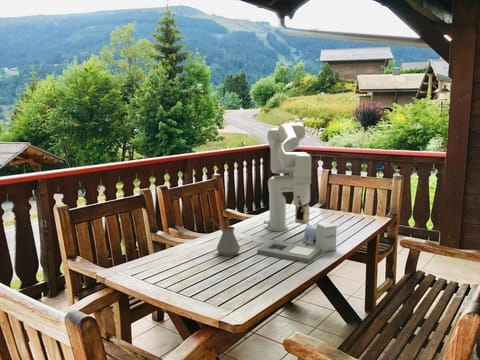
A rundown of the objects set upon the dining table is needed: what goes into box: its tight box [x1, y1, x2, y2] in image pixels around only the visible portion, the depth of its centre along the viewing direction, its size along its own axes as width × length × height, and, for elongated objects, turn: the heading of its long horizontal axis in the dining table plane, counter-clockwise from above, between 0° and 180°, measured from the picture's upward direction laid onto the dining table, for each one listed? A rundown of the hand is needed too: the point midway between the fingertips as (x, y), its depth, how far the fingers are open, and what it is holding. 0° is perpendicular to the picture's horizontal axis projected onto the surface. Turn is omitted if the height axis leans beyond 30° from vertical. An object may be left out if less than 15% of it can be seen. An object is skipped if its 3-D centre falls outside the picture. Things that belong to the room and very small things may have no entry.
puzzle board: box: [256, 240, 322, 264], centre depth 203 cm, size 27×16×2 cm, turn 60°
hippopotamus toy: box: [301, 222, 317, 245], centre depth 220 cm, size 11×15×10 cm
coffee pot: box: [210, 217, 241, 257], centre depth 207 cm, size 21×12×15 cm, turn 36°
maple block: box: [294, 203, 310, 225], centre depth 197 cm, size 5×5×8 cm
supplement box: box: [315, 222, 338, 252], centre depth 208 cm, size 7×7×13 cm
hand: (302, 217), depth 197 cm, fingers closed on maple block, 5 cm apart
